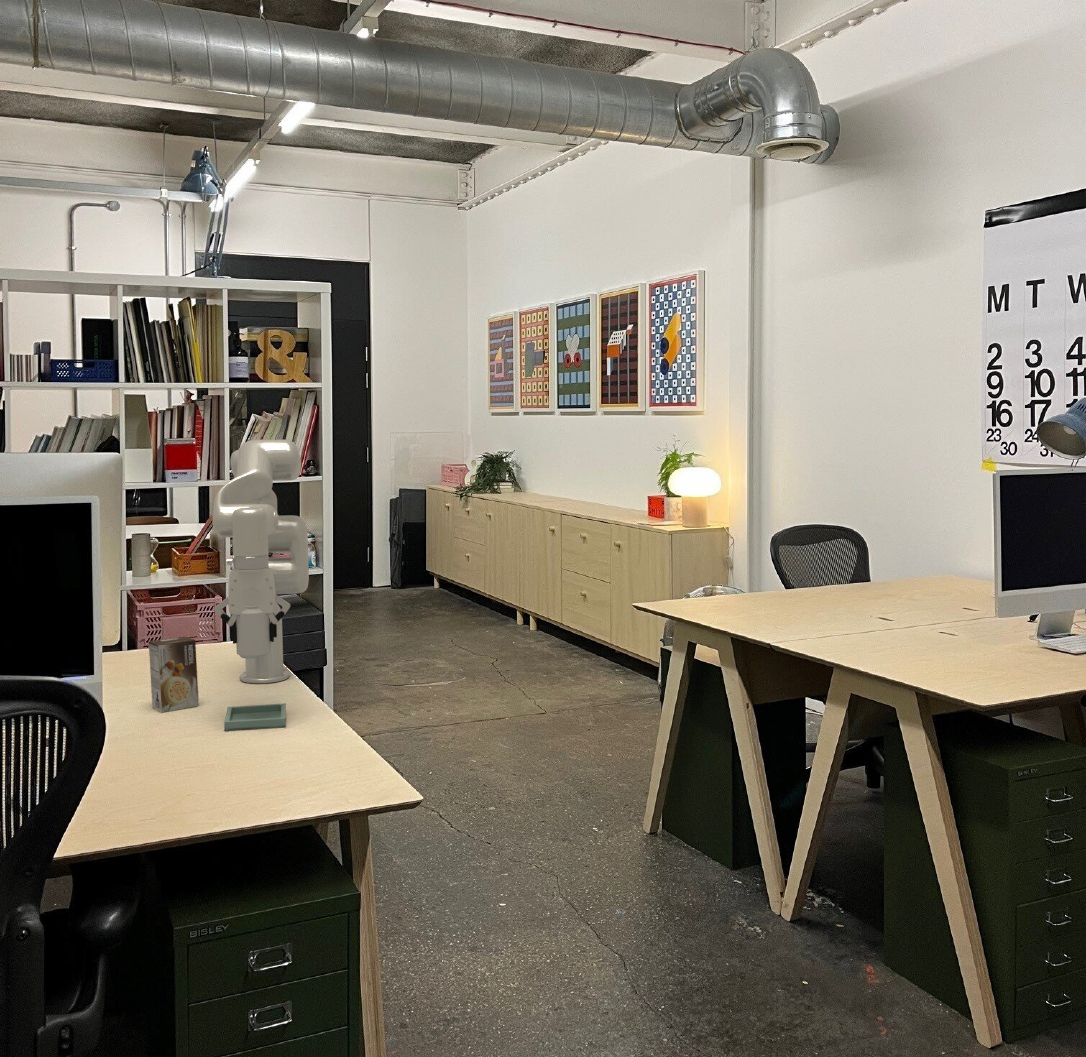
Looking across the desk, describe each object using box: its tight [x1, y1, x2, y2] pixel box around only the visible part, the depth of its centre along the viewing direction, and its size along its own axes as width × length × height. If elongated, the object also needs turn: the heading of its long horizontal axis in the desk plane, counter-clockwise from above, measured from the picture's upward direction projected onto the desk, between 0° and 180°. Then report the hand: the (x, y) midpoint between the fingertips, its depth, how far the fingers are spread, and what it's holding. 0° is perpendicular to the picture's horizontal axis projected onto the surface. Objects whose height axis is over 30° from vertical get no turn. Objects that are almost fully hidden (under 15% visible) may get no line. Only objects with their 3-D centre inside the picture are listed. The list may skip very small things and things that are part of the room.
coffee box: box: [148, 635, 200, 713], centre depth 259 cm, size 9×6×16 cm
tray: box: [223, 703, 287, 732], centre depth 248 cm, size 13×13×2 cm
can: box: [235, 606, 271, 659], centre depth 245 cm, size 8×8×12 cm
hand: (253, 641), depth 246 cm, fingers closed on can, 7 cm apart
